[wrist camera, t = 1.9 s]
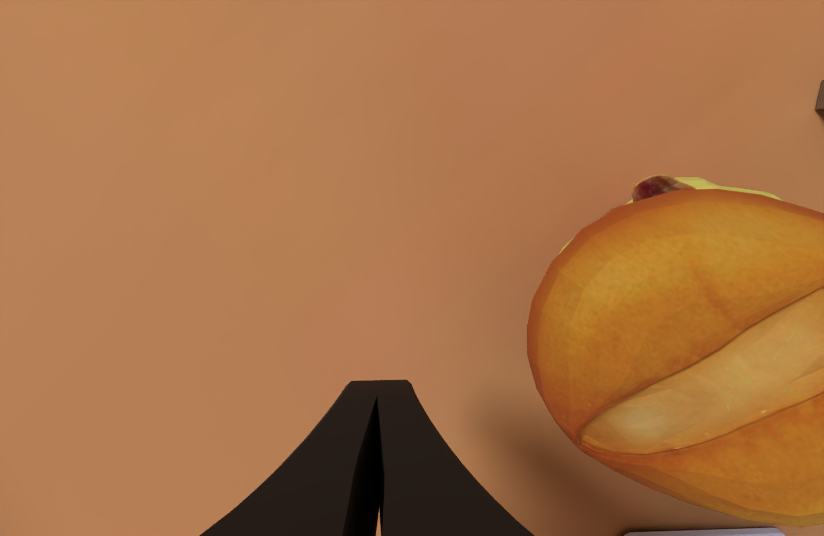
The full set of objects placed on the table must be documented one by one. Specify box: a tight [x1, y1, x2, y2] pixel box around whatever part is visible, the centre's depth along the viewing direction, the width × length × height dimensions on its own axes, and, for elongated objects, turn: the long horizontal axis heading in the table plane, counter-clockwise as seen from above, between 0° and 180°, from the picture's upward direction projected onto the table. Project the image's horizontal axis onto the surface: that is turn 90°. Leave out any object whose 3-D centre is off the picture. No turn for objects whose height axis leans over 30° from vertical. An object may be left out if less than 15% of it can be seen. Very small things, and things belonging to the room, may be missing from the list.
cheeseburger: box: [527, 174, 824, 527], centre depth 13 cm, size 10×11×10 cm
